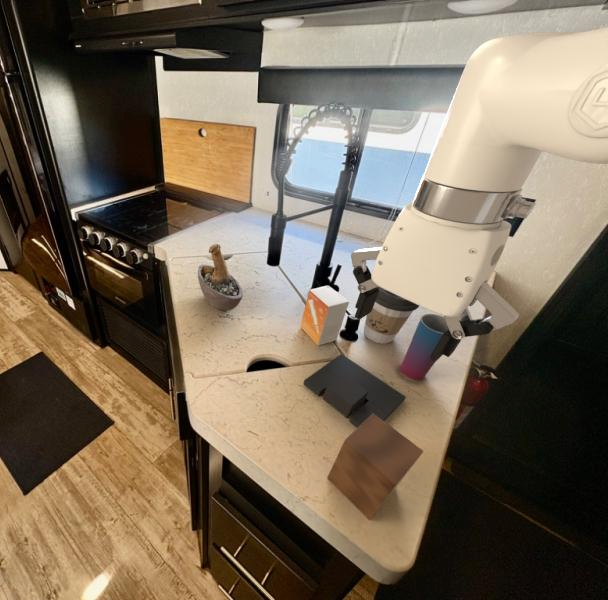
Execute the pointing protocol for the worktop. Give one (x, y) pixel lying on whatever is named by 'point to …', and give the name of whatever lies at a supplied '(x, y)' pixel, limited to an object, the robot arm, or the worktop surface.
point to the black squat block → (345, 395)
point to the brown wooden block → (372, 464)
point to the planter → (219, 282)
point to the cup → (423, 346)
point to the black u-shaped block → (379, 393)
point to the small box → (323, 314)
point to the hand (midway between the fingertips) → (397, 333)
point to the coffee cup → (387, 316)
